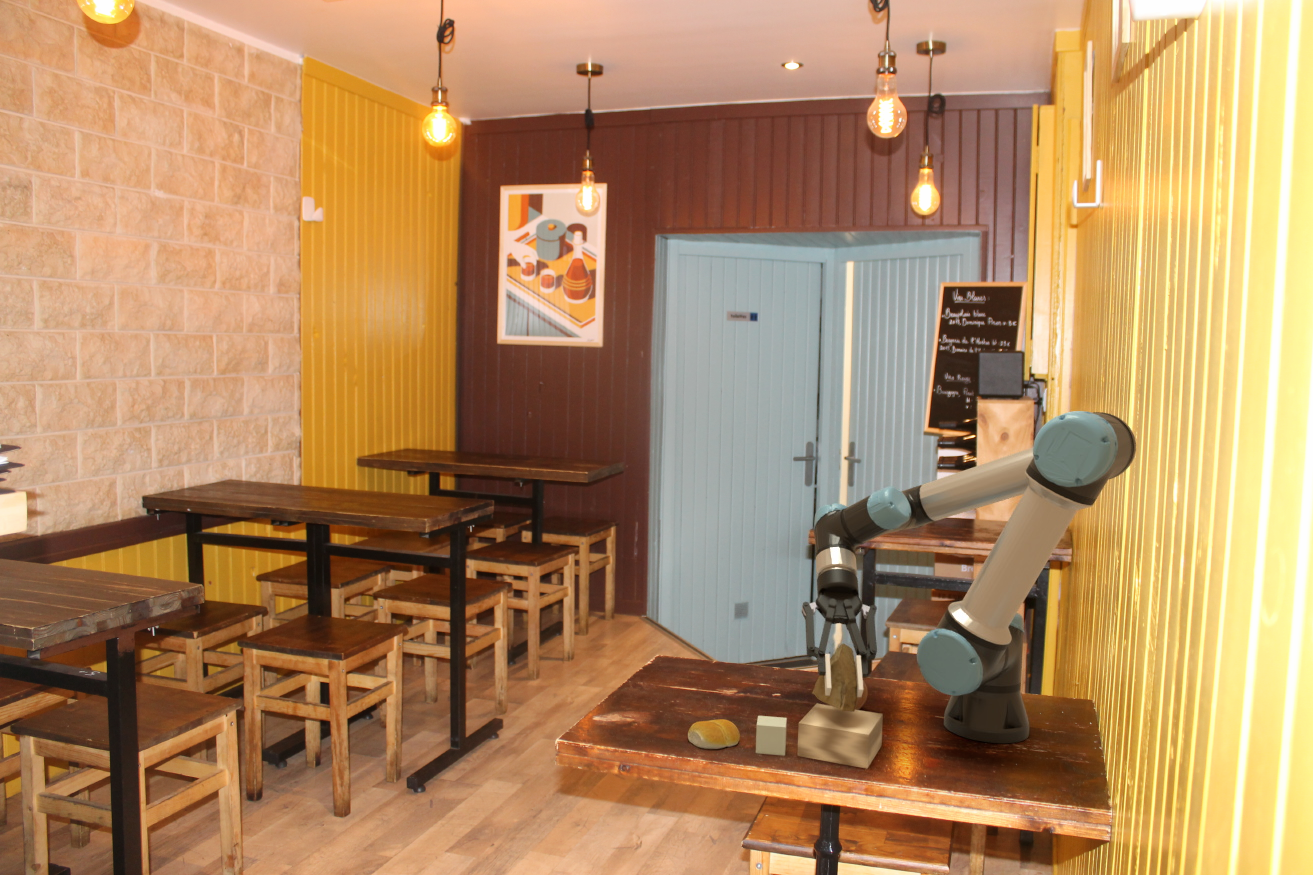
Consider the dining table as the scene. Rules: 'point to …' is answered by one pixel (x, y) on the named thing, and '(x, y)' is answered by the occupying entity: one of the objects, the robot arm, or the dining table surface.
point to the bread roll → (713, 734)
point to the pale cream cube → (771, 735)
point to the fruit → (862, 699)
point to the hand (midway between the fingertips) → (844, 692)
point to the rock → (840, 681)
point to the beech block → (840, 735)
